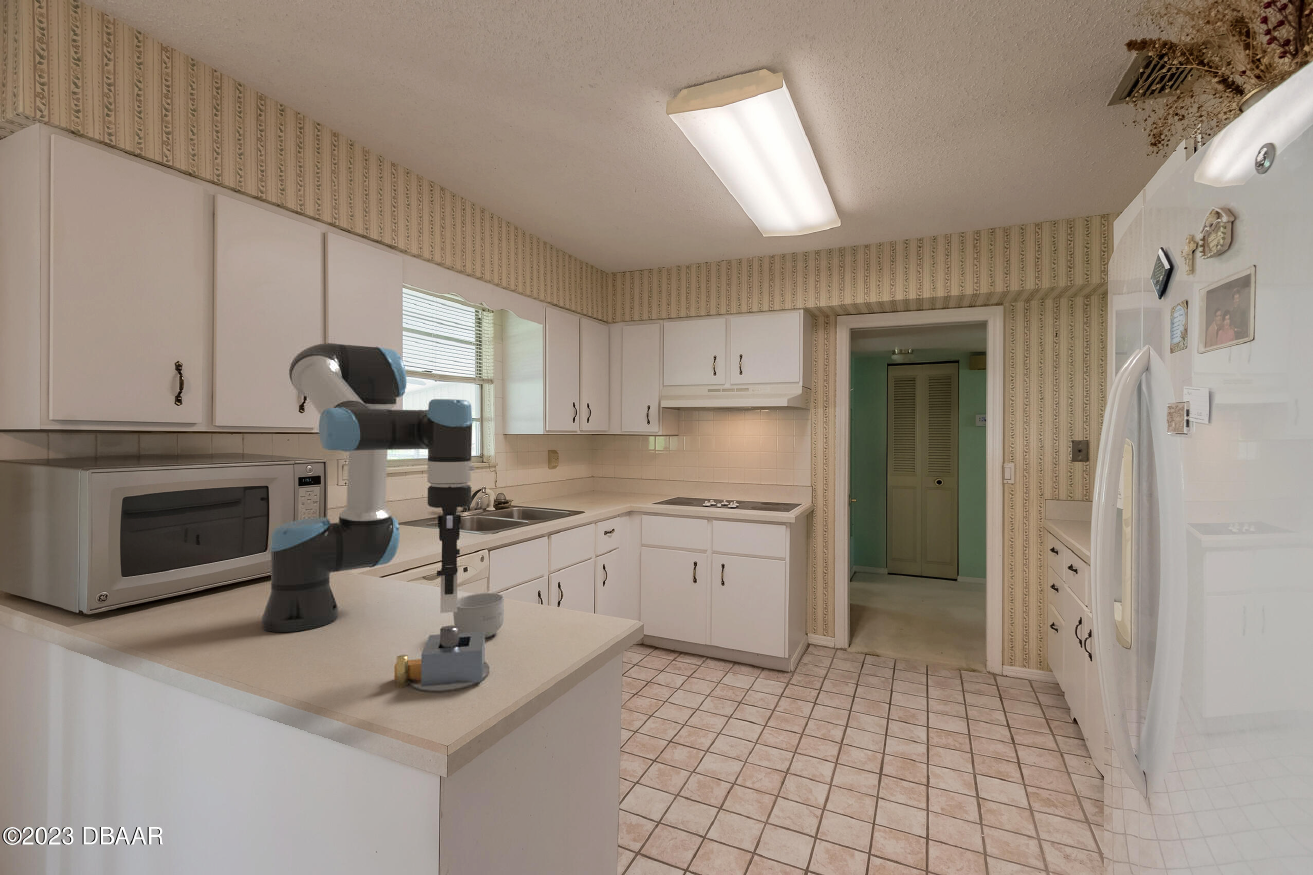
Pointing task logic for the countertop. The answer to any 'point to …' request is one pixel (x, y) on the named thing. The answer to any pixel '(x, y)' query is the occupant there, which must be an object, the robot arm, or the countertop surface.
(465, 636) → the grey hollow block
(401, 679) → the dowel pin
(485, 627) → the teacup
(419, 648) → the countertop surface
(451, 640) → the rod on disc base
